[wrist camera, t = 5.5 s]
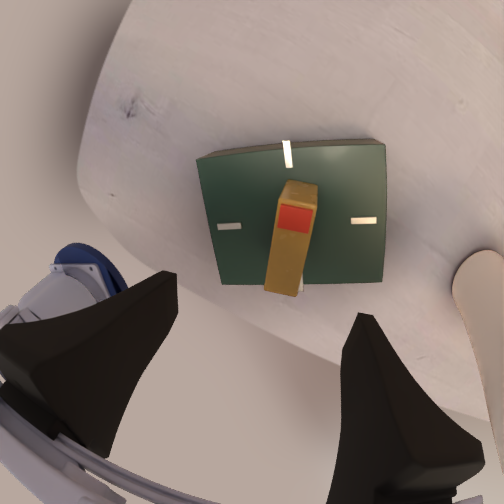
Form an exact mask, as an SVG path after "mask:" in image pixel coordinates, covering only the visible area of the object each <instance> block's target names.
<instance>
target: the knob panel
mask: <svg viewBox="0 0 504 504" xmlns="http://www.w3.org/2000/svg"><path fill="white" fill-rule="evenodd" d="M196 162H197V168H198V173H199V178H200V184H201V189H202V194H203V199H204V204H205V209H206V214H207V218H208V223H209V228H210V233H211V238H212V242H213V247H214V252H215V256H216V261H217V265H218V270H219V274H220V279H221V283H222V285H264V284H265V278H266V272H267V266H268V260H269V254H270V248H271V242H272V236H273V230H274V224H275V217H276V211H277V205H278V199H279V197H280V195H281V193H282V190H283V188H284V186H285V184H286V182H287V180H288V179H290V180H295V181H300V182H306V183H310V184H315V185H317V186H318V201H317V211H316V216H315V220H314V225H313V230H312V234H311V239H310V243H309V247H308V252H307V256H306V260H305V265H304V269H303V273H302V277H301V281H300V285H299V289H298V292H303V291H304V288H303V284H343V283H374V282H382V278H383V267H384V255H385V238H386V211H387V173H386V146H385V144H383V143H381V142H379V141H377V140H375V139H346V140H322V141H306V142H292V143H290V140H286V141H283V143H281V144H270V145H261V146H252V147H244V148H236V149H229V150H222V151H215V152H212V153H210V154H208V155H205V156H203V157H201V158H198V159H196Z"/></svg>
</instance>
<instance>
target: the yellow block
mask: <svg viewBox="0 0 504 504" xmlns="http://www.w3.org/2000/svg"><path fill="white" fill-rule="evenodd" d="M317 201H318V186H317V185H315V184H310V183H306V182H300V181H295V180H290V179H288V180H287V182H286V184H285V186H284V188H283V190H282V193H281V195H280V197H279V199H278V205H277V211H276V217H275V224H274V230H273V236H272V242H271V248H270V254H269V260H268V266H267V272H266V278H265V284H264V290H265V291H269V292H274V293H279V294H283V295H288V296H293V297H296V296H297V293H298V289H299V285H300V281H301V277H302V273H303V269H304V265H305V260H306V256H307V252H308V247H309V243H310V239H311V234H312V230H313V225H314V220H315V216H316V211H317Z"/></svg>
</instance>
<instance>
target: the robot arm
mask: <svg viewBox="0 0 504 504" xmlns="http://www.w3.org/2000/svg"><path fill="white" fill-rule="evenodd" d="M49 268H50V271H51V273H50V274H49V275H48V276H46V277H45V278H44V279H43V280H41V281H40V282H39V283H38V284H37V285H35V286H34V287H33V288H32V289H31V290H30V291H28V292H27V293H26V294H25V295H24V296H23V297H22V298H21V299H20V301H19V303H18V306H13V305H9V306H7V307H6V308H5V309H3V310H2V311H1V312H0V374H1V375H2V377H3V378H4V379H5V380H6V381H5V382H4V384H3V383H2V382H1V381H0V462H1V463H2V464H3V465H4V466H5V467H6V468H7V469H8V470H9V471H10V472H11V473H12V474H13V475H14V476H15V477H16V478H17V479H18V480H19V481H20V482H21V483H22V484H23V485H24V486H25V487H26V488H27V489H28V490H29V491H30V492H32V494H34V495H35V496H36V497H37V498H38V499H39V500H40V501H42V502H43V503H44V504H125V503H126V499H125V498H123V497H122V496H120V495H118V494H117V493H115V492H114V491H112V490H111V489H110V488H109V487H108V486H107V485H105V484H104V483H102V482H100V481H99V480H97V479H95V478H94V477H92V476H91V475H89V474H87V473H86V471H85V469H86V470H88V471H89V472H91V473H93V474H95V475H96V476H98V477H100V478H102V479H104V480H105V481H107V482H109V483H111V484H113V485H115V486H117V487H119V488H121V489H123V490H125V491H127V492H129V493H132V494H134V495H136V496H138V497H141V498H143V499H145V500H148V501H150V502H152V503H155V504H219V503H215V502H212V501H208V500H205V499H201V498H198V497H195V496H191V495H188V494H185V493H182V492H179V491H176V490H174V489H171V488H168V487H165V486H163V485H160V484H158V483H155V482H153V481H150V480H148V479H145V478H143V477H141V476H139V475H136V474H134V473H132V472H130V471H128V470H125V469H123V468H121V467H119V466H117V465H115V464H113V463H111V462H109V461H107V460H105V458H108V457H109V455H110V451H111V448H112V444H113V442H114V439H115V435H116V432H117V429H118V427H119V424H120V421H121V419H122V416H123V414H124V412H125V409H126V407H127V404H128V402H129V400H130V398H131V395H132V393H133V391H134V389H135V387H136V385H137V383H138V381H139V379H140V377H141V375H142V373H143V372H144V370H145V369H146V367H147V365H148V364H149V363H150V361H151V360H152V358H153V356H154V355H155V353H156V352H157V350H158V349H159V347H160V346H161V344H162V343H163V341H164V339H165V338H166V336H167V335H168V333H169V331H170V329H171V327H172V325H173V323H174V321H175V319H176V317H177V314H178V299H177V298H178V297H177V274H176V273H172V272H168V271H164V270H163V271H161V272H158V273H156V274H154V275H153V276H151V277H149V278H147V279H145V280H143V281H141V282H140V283H137V284H136V285H134V286H132V287H130V288H128V289H126V290H124V291H122V292H120V293H118V294H116V295H114V296H112V297H111V296H110V293H109V291H108V289H107V286H106V284H105V281H104V279H103V276H102V274H101V271H100V269H99V266H98V265H97V264H95V263H75V264H50V265H49ZM340 372H341V373H340V375H341V376H340V377H341V433H340V440H339V447H338V454H337V459H336V465H335V470H334V475H333V479H332V483H331V488H330V491H329V495H328V499H327V502H326V504H452V497H454V496H456V494H457V490H456V487H457V486H458V485H460V484H462V483H463V482H465V481H467V480H468V479H470V478H471V477H473V476H474V475H476V474H477V473H479V472H480V470H482V469H483V467H484V465H485V459H484V453H483V449H482V443H481V441H479V440H478V439H476V438H475V437H473V436H472V435H471V434H469V433H468V432H467V431H465V430H464V429H462V428H461V427H460V426H459V425H458V424H457V423H455V422H454V421H453V420H452V419H451V418H450V417H449V416H447V415H446V414H445V413H444V412H443V411H442V410H441V409H440V408H439V407H438V406H437V405H436V404H435V403H434V402H433V401H432V400H431V398H430V397H429V396H428V395H427V394H426V393H425V392H424V390H423V389H422V388H421V387H420V385H419V384H418V383H417V382H416V381H415V379H414V378H413V377H412V375H411V374H410V373H409V371H408V370H407V368H406V367H405V365H404V364H403V363H402V361H401V360H400V358H399V357H398V355H397V353H396V352H395V350H394V349H393V347H392V346H391V344H390V342H389V341H388V339H387V337H386V336H385V334H384V332H383V331H382V329H381V327H380V326H379V324H378V322H377V321H376V319H375V318H374V316H373V315H369V314H364V313H358V314H357V317H356V319H355V322H354V324H353V326H352V329H351V331H350V333H349V336H348V338H347V340H346V342H345V345H344V347H343V349H342V358H341V371H340ZM453 504H483V497H482V495H479V496H475V497H472V498H468V499H465V500H461V501H458V502H455V503H453Z"/></svg>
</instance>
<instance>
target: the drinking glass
mask: <svg viewBox="0 0 504 504" xmlns="http://www.w3.org/2000/svg"><path fill="white" fill-rule="evenodd" d="M452 295H453V299H454V302H455V304H456V306H457V308H458V310H459V312H460V314H461V316H462V319H463V321H464V324H465V327H466V330H467V333H468V336H469V339H470V342H471V345H472V348H473V351H474V355H475V358H476V362H477V365H478V369H479V373H480V377H481V381H482V386H483V390H484V394H485V399H486V404H487V408H488V413H489V418H490V422H491V426H492V430H493V435H494V439H495V443H496V447H497V451H498V456H499V460H500V463H501V468H502V472H503V476H504V258H503V257H502V256H501V255H500V254H499V253H497V252H495V251H492V250H483V251H479V252H476V253H474V254H473V255H471V256H470V257H468V258H467V259H466V260H465V261H464V262H463V263H462V265H461V266H460V267H459V269H458V271H457V272H456V275H455V277H454V280H453V285H452Z"/></svg>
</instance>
